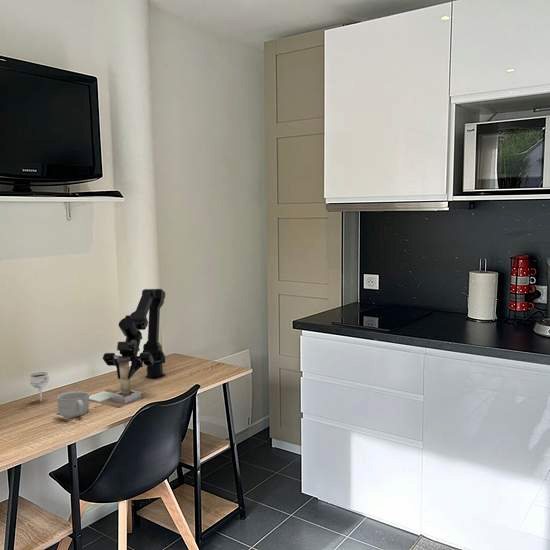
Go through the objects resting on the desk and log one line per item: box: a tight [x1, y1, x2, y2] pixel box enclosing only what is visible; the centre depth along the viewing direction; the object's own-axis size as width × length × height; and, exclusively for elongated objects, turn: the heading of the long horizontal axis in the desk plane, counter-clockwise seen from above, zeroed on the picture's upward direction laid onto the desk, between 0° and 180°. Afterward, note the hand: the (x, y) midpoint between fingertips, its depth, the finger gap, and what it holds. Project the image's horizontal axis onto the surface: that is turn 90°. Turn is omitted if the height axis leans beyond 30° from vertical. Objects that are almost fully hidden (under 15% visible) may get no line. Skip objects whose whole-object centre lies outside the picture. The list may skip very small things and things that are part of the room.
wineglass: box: [29, 371, 50, 403], centre depth 211 cm, size 7×7×12 cm
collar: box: [111, 389, 142, 404], centre depth 211 cm, size 8×8×2 cm
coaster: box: [89, 390, 114, 404], centre depth 214 cm, size 9×9×1 cm
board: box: [89, 388, 146, 409], centre depth 213 cm, size 13×22×1 cm, turn 56°
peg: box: [117, 355, 132, 396], centre depth 210 cm, size 5×5×14 cm
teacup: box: [56, 391, 90, 420], centre depth 196 cm, size 14×11×8 cm
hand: (123, 378), depth 208 cm, fingers closed on peg, 4 cm apart
